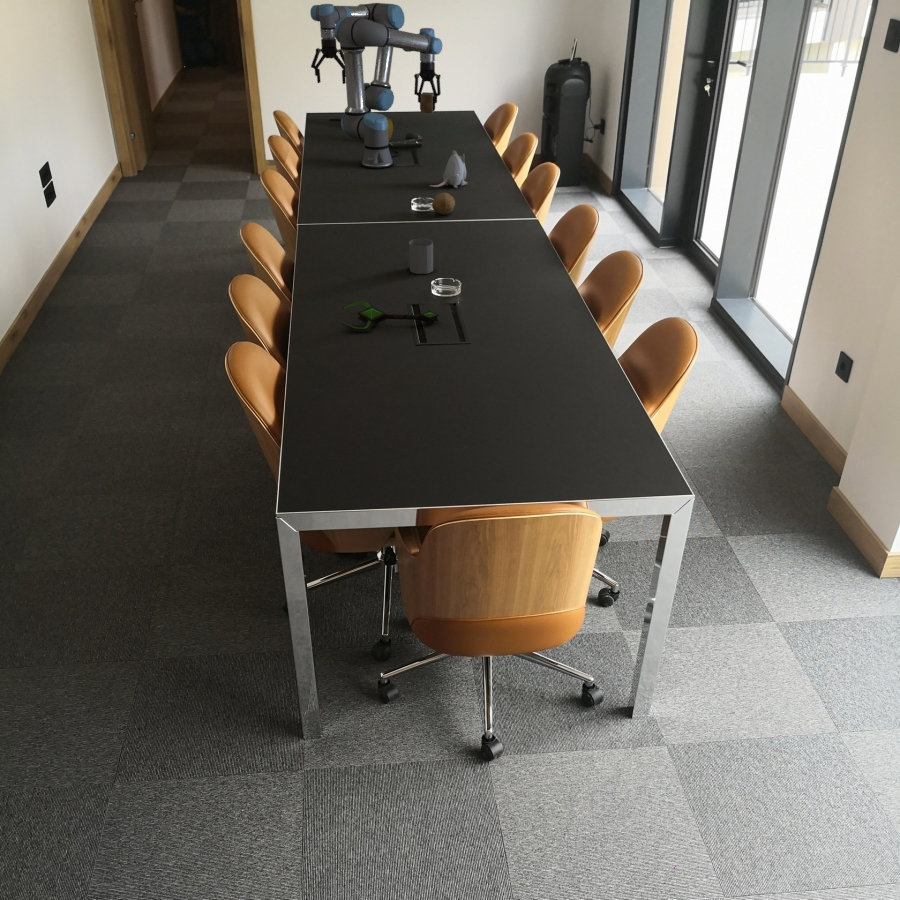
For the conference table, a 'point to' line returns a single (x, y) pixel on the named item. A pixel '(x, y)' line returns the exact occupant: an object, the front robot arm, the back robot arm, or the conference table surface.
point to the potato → (443, 203)
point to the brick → (427, 102)
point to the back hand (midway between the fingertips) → (331, 83)
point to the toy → (454, 171)
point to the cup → (421, 256)
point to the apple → (389, 128)
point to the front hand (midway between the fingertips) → (427, 109)
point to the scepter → (385, 316)
